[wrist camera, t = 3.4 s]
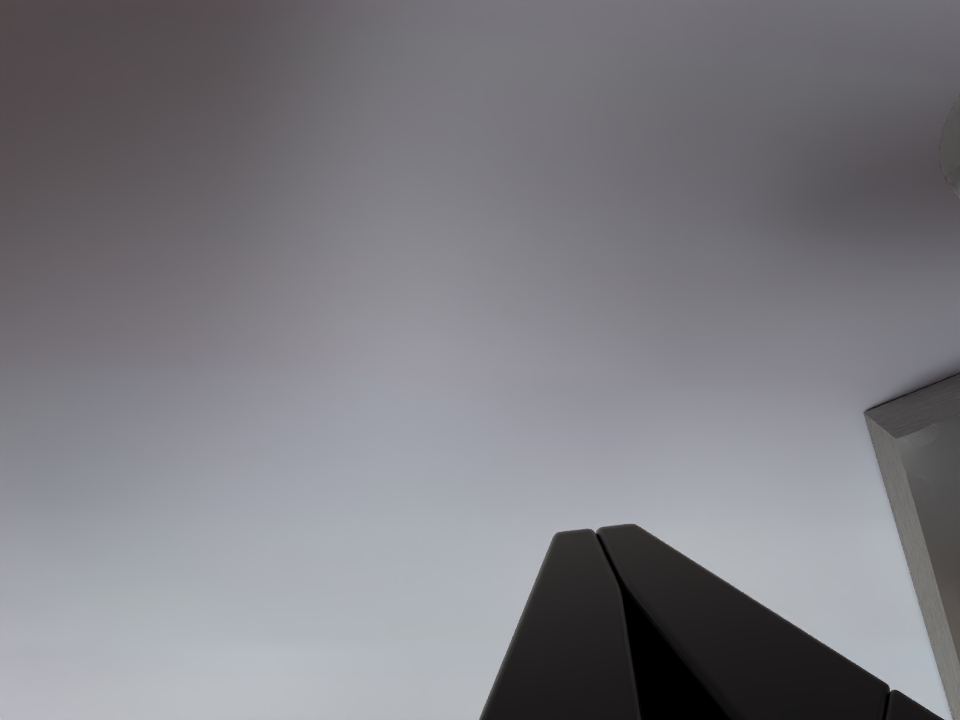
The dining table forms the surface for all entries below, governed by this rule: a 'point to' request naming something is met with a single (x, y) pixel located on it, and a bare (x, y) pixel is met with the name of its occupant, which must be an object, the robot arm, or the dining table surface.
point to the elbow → (951, 148)
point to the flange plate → (927, 509)
